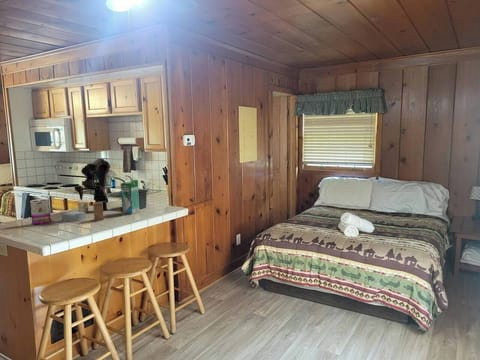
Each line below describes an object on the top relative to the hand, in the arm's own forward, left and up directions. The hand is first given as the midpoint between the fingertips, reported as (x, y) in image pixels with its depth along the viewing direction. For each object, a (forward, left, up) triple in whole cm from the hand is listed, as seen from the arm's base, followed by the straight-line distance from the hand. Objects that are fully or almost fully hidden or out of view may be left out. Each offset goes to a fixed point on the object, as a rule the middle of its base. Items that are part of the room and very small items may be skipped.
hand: (87, 200), depth 253 cm
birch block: (-11, -20, -13) cm, 27 cm away
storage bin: (-43, +3, -13) cm, 46 cm away
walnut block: (+1, +12, -13) cm, 18 cm away
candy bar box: (+25, -16, -13) cm, 32 cm away
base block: (+7, -7, -14) cm, 17 cm away
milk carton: (-26, +15, -13) cm, 33 cm away
